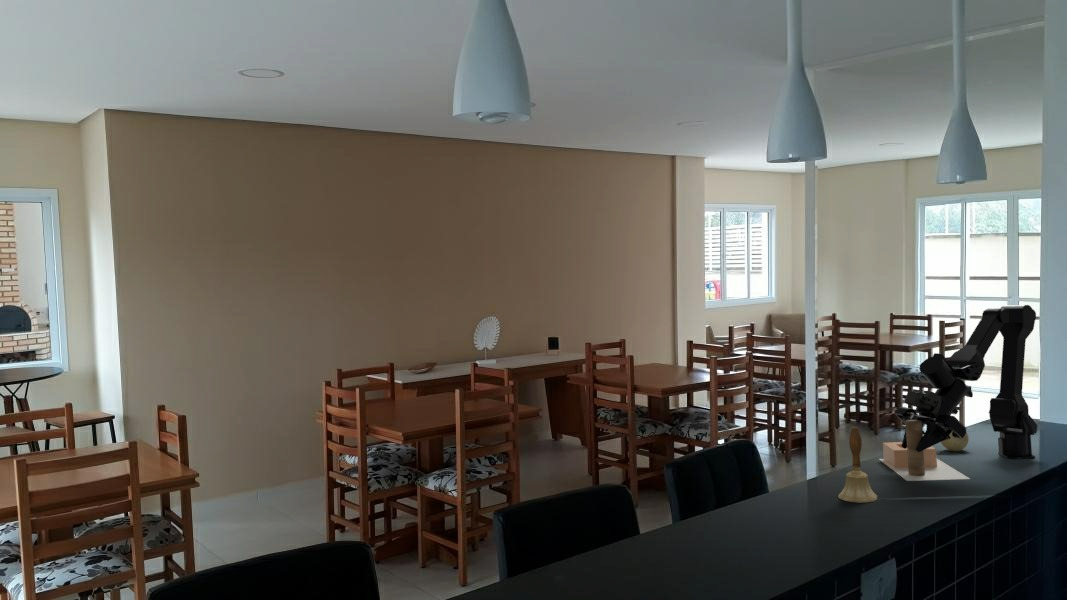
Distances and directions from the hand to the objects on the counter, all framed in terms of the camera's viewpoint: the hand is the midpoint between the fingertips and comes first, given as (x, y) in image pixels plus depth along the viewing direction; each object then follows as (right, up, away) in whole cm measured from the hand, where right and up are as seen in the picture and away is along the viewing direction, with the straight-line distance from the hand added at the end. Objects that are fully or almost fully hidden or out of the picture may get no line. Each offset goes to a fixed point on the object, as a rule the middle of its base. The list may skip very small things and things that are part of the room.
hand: (910, 449), depth 193 cm
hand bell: (-19, -8, -15) cm, 25 cm away
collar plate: (+6, -6, +6) cm, 10 cm away
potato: (+24, -5, +24) cm, 34 cm away
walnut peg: (+2, -6, 0) cm, 6 cm away
